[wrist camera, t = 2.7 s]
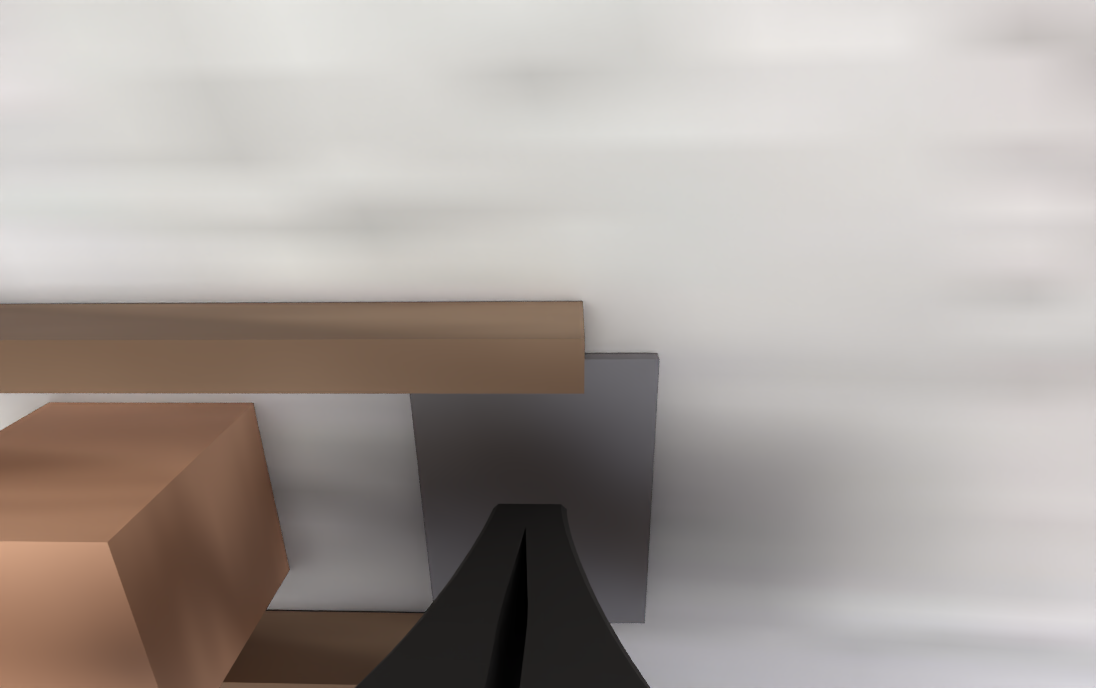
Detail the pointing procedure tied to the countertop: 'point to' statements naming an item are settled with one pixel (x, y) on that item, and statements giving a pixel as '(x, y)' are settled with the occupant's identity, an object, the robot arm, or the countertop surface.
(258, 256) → the countertop surface
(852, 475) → the countertop surface
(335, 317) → the channel
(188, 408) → the block
